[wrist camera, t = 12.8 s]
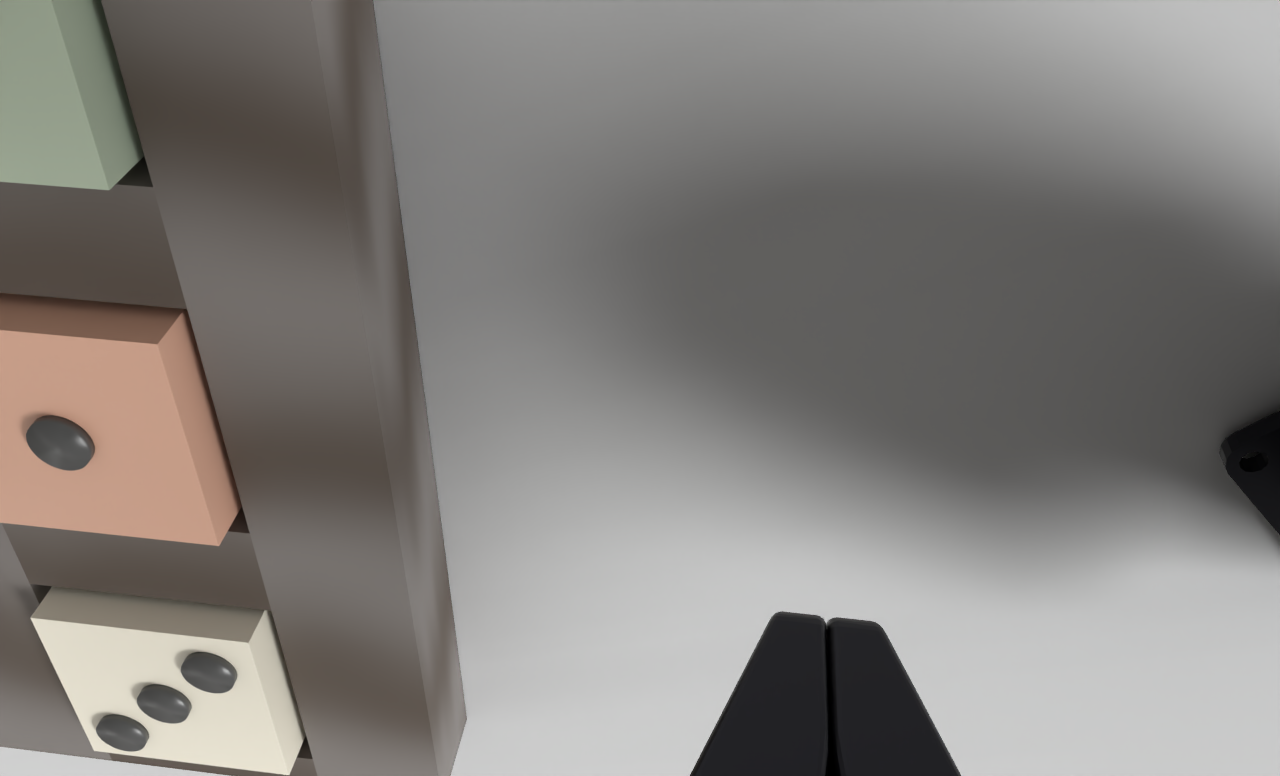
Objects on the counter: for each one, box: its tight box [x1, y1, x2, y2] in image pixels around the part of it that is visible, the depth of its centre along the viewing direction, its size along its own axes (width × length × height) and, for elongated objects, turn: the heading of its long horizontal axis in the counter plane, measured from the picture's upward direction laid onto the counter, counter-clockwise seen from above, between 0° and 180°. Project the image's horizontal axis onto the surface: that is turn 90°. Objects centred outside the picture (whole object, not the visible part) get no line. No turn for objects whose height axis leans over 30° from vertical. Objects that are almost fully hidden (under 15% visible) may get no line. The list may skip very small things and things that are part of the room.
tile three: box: [30, 586, 306, 775], centre depth 28 cm, size 5×5×3 cm
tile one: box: [0, 293, 242, 546], centre depth 23 cm, size 5×5×3 cm
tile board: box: [0, 0, 467, 776], centre depth 23 cm, size 24×12×2 cm, turn 179°
